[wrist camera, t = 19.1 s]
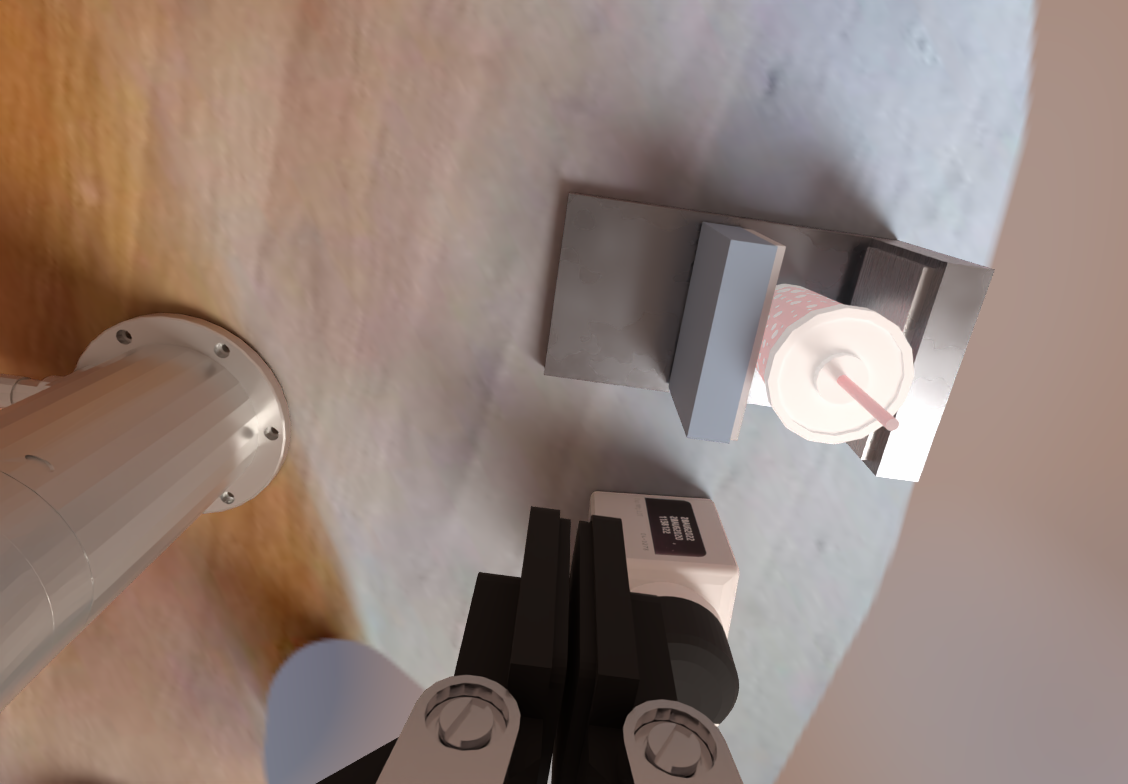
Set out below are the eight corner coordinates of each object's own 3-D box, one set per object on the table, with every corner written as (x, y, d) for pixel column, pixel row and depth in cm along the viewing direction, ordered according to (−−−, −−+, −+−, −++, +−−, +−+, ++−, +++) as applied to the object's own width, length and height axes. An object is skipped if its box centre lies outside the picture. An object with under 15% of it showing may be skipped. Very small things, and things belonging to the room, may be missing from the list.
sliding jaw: (668, 387, 38) (687, 438, 32) (702, 221, 35) (731, 239, 28) (712, 393, 38) (739, 444, 32) (749, 228, 35) (789, 248, 28)
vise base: (545, 368, 39) (535, 429, 31) (569, 191, 36) (565, 206, 28) (846, 410, 40) (917, 481, 32) (898, 240, 37) (994, 269, 28)
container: (590, 488, 42) (595, 628, 30) (714, 497, 42) (769, 640, 30) (581, 591, 45) (582, 759, 33) (697, 599, 45) (742, 769, 33)
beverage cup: (852, 350, 37) (1000, 462, 24) (748, 394, 38) (835, 524, 25) (817, 249, 36) (956, 312, 22) (708, 298, 37) (780, 385, 23)
